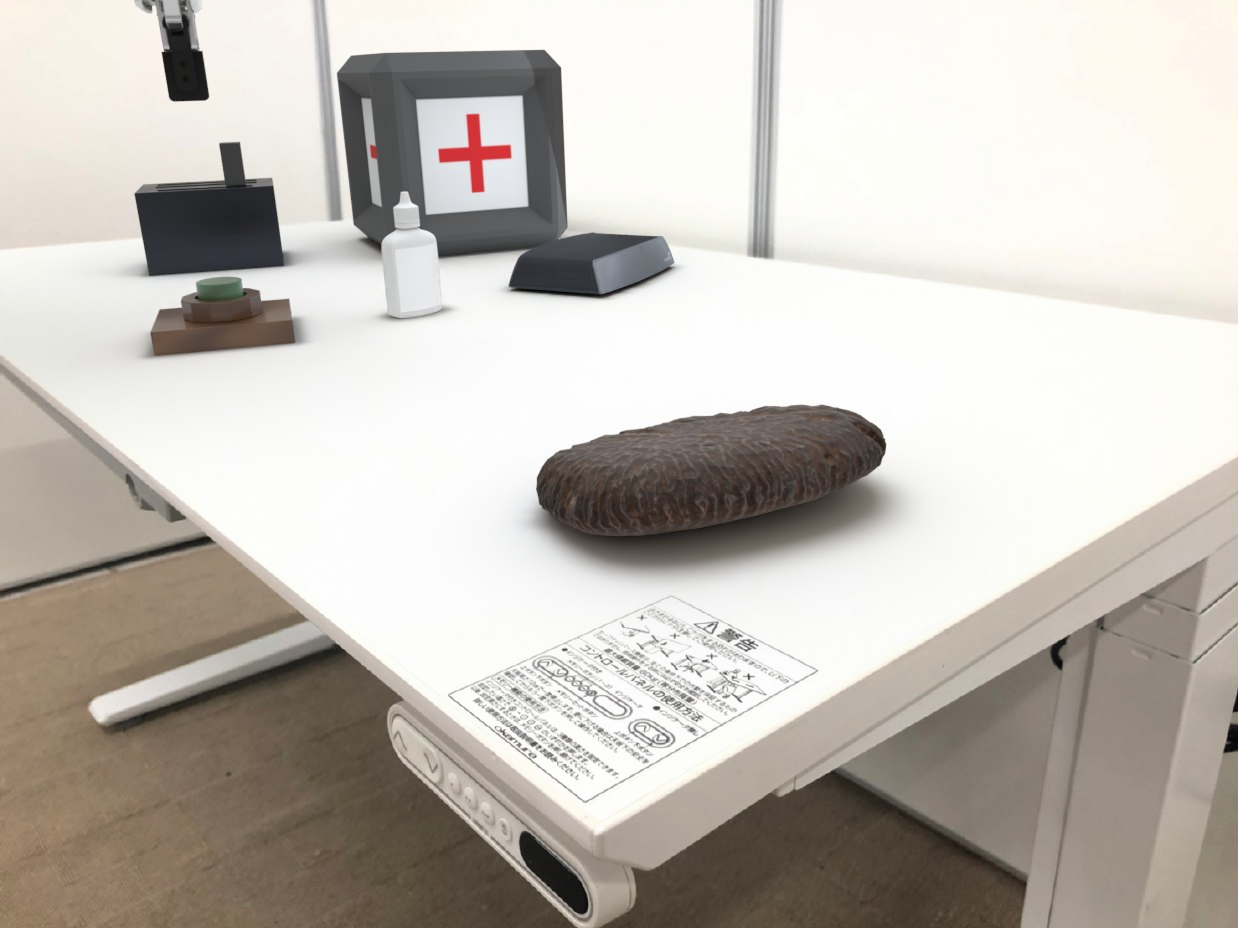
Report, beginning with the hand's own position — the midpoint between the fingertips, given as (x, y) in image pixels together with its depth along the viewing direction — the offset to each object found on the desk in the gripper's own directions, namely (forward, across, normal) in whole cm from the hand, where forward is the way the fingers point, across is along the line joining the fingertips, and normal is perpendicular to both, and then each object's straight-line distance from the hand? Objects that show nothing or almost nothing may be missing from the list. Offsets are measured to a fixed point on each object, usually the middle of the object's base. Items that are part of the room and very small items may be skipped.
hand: (189, 100), depth 92 cm
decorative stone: (+21, +53, +27) cm, 63 cm away
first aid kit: (+21, -47, +30) cm, 60 cm away
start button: (+17, 0, 0) cm, 17 cm away
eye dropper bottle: (+21, -3, +18) cm, 28 cm away
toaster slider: (+11, -39, +2) cm, 41 cm away
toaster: (+21, -43, -2) cm, 48 cm away
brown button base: (+21, 0, 0) cm, 21 cm away
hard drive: (+21, -13, +40) cm, 47 cm away
